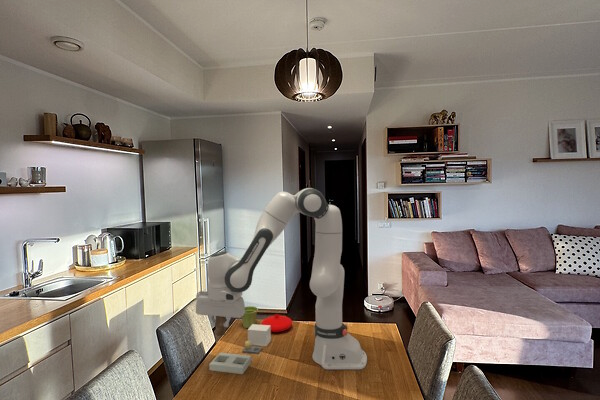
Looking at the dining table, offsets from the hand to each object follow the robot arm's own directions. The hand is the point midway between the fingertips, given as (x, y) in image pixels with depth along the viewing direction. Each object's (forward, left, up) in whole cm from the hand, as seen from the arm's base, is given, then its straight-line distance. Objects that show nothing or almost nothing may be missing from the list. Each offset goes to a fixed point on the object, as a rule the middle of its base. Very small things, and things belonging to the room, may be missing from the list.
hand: (220, 326), depth 130 cm
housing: (-9, -21, -16) cm, 28 cm away
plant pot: (+3, -37, -16) cm, 40 cm away
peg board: (-4, 0, -16) cm, 16 cm away
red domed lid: (-12, -37, -16) cm, 42 cm away
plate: (-8, -13, -16) cm, 22 cm away
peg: (0, 0, -3) cm, 3 cm away
